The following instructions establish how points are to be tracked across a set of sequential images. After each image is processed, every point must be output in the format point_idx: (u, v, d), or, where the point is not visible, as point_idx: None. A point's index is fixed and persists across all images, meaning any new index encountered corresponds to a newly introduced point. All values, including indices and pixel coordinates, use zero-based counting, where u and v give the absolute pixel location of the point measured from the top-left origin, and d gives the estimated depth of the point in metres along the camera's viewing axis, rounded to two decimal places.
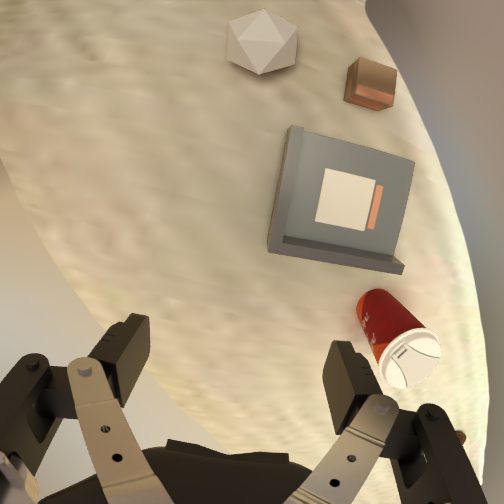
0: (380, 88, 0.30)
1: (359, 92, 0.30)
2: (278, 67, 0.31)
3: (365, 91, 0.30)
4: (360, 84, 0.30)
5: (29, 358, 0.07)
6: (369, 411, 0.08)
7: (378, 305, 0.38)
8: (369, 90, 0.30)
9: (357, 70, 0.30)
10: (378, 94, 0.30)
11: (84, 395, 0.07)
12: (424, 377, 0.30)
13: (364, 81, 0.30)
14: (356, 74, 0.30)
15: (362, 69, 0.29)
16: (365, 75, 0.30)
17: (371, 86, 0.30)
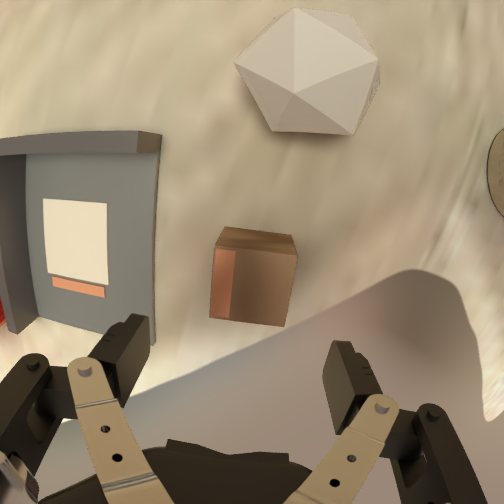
0: (238, 294, 0.19)
1: (219, 253, 0.19)
2: (255, 97, 0.17)
3: (223, 266, 0.19)
4: (236, 256, 0.19)
5: (29, 358, 0.07)
6: (369, 411, 0.08)
7: None
8: (227, 273, 0.19)
9: (268, 251, 0.19)
10: (223, 291, 0.19)
11: (84, 395, 0.07)
12: None
13: (244, 264, 0.19)
14: (259, 248, 0.19)
15: (270, 260, 0.19)
16: (258, 265, 0.19)
17: (237, 277, 0.19)
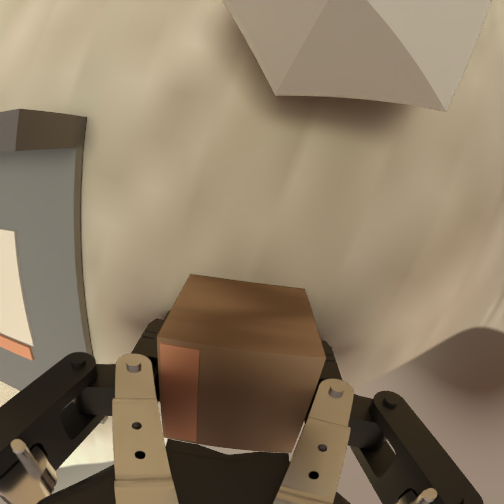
0: (209, 413, 0.09)
1: (167, 350, 0.09)
2: (242, 24, 0.07)
3: (178, 373, 0.09)
4: (201, 358, 0.09)
5: (76, 356, 0.08)
6: (321, 394, 0.09)
7: None
8: (187, 385, 0.09)
9: (266, 350, 0.09)
10: (183, 408, 0.09)
11: (138, 390, 0.08)
12: None
13: (219, 372, 0.09)
14: (248, 342, 0.09)
15: (270, 367, 0.09)
16: (247, 375, 0.09)
17: (206, 391, 0.09)
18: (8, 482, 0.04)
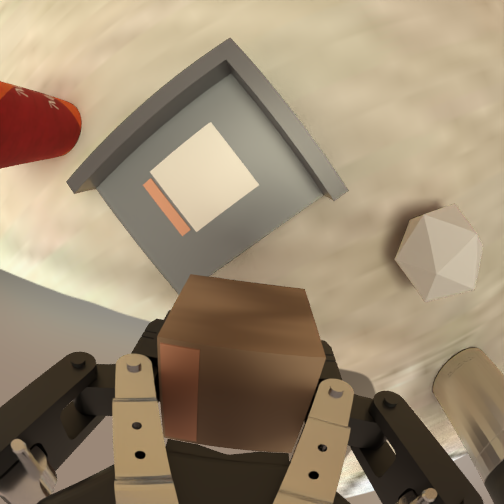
0: (209, 414, 0.09)
1: (167, 351, 0.09)
2: (410, 240, 0.24)
3: (178, 373, 0.09)
4: (201, 358, 0.09)
5: (76, 356, 0.08)
6: (321, 394, 0.09)
7: (53, 127, 0.21)
8: (187, 385, 0.09)
9: (266, 350, 0.09)
10: (183, 408, 0.09)
11: (139, 391, 0.08)
12: None
13: (219, 372, 0.09)
14: (248, 342, 0.09)
15: (270, 367, 0.09)
16: (247, 374, 0.09)
17: (206, 391, 0.09)
18: (8, 482, 0.04)
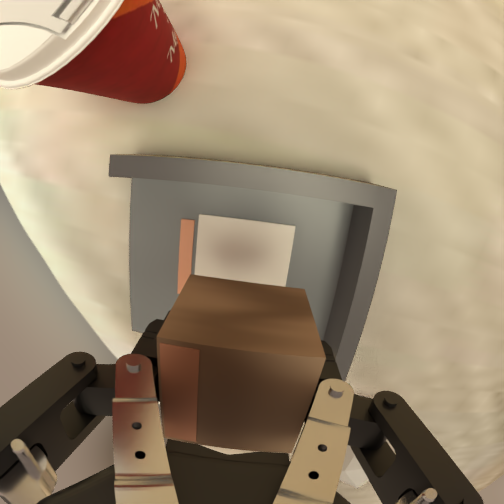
0: (209, 414, 0.09)
1: (167, 351, 0.09)
2: None
3: (178, 373, 0.09)
4: (201, 359, 0.09)
5: (76, 356, 0.08)
6: (321, 394, 0.09)
7: (148, 83, 0.15)
8: (186, 385, 0.09)
9: (266, 351, 0.09)
10: (182, 408, 0.09)
11: (138, 390, 0.08)
12: None
13: (219, 372, 0.09)
14: (248, 342, 0.09)
15: (270, 367, 0.09)
16: (246, 375, 0.09)
17: (205, 392, 0.09)
18: (8, 482, 0.04)
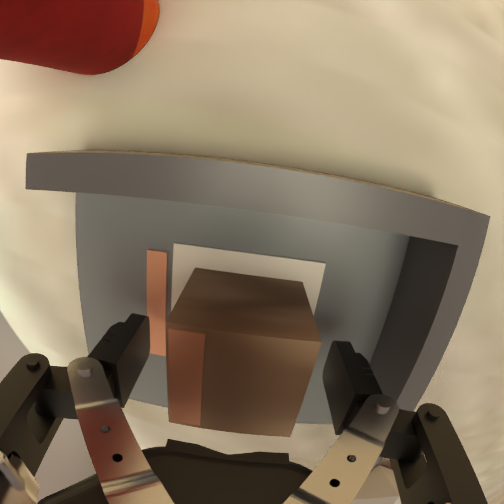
0: (213, 397, 0.10)
1: (175, 335, 0.10)
2: (367, 501, 0.16)
3: (184, 357, 0.10)
4: (207, 343, 0.10)
5: (30, 357, 0.07)
6: (369, 411, 0.08)
7: (81, 29, 0.07)
8: (192, 369, 0.10)
9: (266, 334, 0.10)
10: (188, 392, 0.10)
11: (84, 395, 0.07)
12: None
13: (223, 355, 0.10)
14: (249, 327, 0.10)
15: (270, 351, 0.10)
16: (248, 358, 0.10)
17: (210, 375, 0.10)
18: None
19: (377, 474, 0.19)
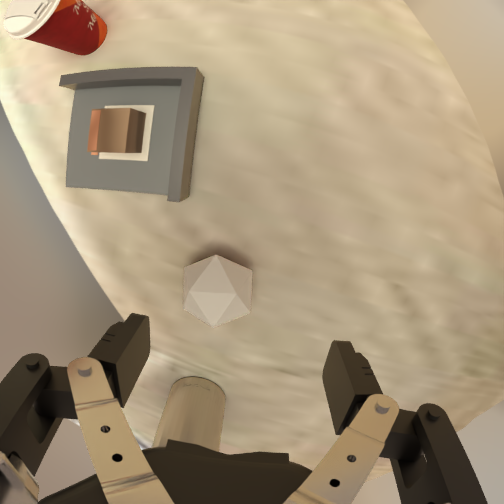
0: (101, 134, 0.29)
1: (93, 113, 0.28)
2: (198, 262, 0.35)
3: (95, 119, 0.28)
4: (101, 113, 0.28)
5: (29, 358, 0.07)
6: (369, 411, 0.08)
7: (79, 40, 0.26)
8: (96, 123, 0.29)
9: (116, 108, 0.28)
10: (94, 133, 0.29)
11: (84, 395, 0.07)
12: None
13: (104, 116, 0.28)
14: None
15: (117, 112, 0.28)
16: (111, 116, 0.28)
17: (101, 125, 0.29)
18: None
19: None
